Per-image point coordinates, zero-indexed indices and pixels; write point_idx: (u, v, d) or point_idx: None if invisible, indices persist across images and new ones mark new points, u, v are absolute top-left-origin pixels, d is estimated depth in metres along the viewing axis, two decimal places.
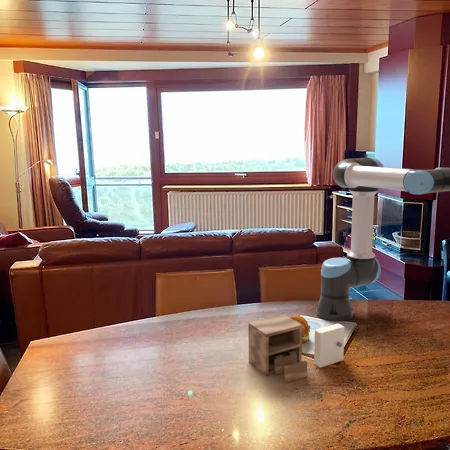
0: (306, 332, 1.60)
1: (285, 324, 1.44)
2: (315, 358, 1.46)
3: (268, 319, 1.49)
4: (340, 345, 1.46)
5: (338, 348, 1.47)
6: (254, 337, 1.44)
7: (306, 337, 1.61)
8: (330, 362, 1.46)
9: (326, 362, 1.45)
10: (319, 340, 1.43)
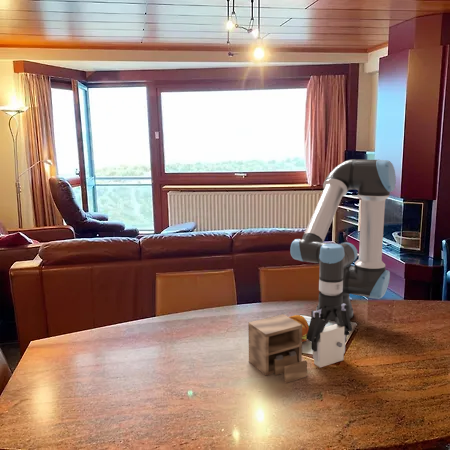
0: (306, 332, 1.60)
1: (285, 324, 1.44)
2: None
3: (268, 319, 1.49)
4: (340, 345, 1.45)
5: (338, 348, 1.47)
6: (254, 337, 1.44)
7: None
8: (330, 362, 1.46)
9: (326, 362, 1.45)
10: (319, 340, 1.43)
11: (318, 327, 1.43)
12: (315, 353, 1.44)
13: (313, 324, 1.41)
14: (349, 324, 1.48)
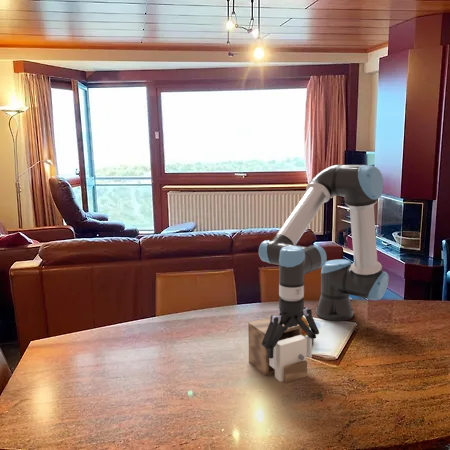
0: None
1: None
2: (275, 371, 1.38)
3: (268, 319, 1.49)
4: (302, 358, 1.38)
5: (300, 361, 1.39)
6: (254, 337, 1.44)
7: None
8: None
9: None
10: (279, 353, 1.35)
11: (276, 333, 1.35)
12: (271, 360, 1.36)
13: (271, 329, 1.33)
14: (315, 328, 1.40)
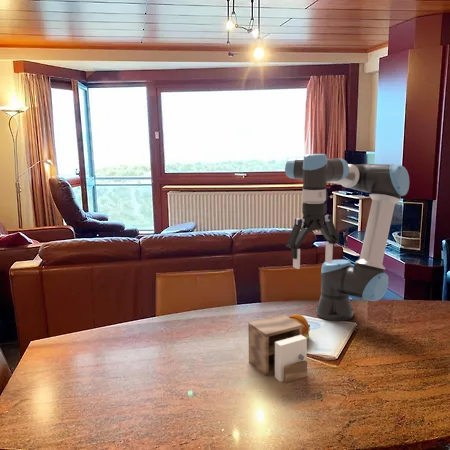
0: (306, 331, 1.61)
1: (285, 324, 1.44)
2: (275, 371, 1.38)
3: (268, 319, 1.49)
4: (302, 358, 1.38)
5: (300, 361, 1.39)
6: (254, 337, 1.44)
7: (306, 336, 1.62)
8: None
9: None
10: (279, 353, 1.35)
11: (300, 235, 1.44)
12: (295, 261, 1.45)
13: (295, 230, 1.42)
14: (335, 234, 1.49)
